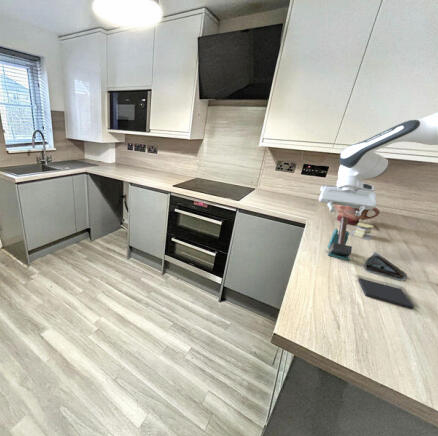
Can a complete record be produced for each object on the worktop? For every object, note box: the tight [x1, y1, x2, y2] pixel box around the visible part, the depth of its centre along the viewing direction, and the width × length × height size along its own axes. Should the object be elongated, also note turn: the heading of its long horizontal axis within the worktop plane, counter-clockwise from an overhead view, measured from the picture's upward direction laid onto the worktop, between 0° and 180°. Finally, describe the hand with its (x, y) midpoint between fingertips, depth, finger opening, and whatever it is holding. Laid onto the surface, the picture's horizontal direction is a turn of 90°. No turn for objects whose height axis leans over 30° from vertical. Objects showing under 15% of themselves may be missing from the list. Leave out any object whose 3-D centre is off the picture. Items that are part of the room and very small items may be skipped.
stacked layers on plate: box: [348, 222, 376, 241], centre depth 121 cm, size 10×9×6 cm
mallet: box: [328, 218, 353, 258], centre depth 100 cm, size 6×14×14 cm, turn 150°
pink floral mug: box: [334, 204, 380, 226], centre depth 137 cm, size 20×12×14 cm, turn 47°
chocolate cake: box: [363, 252, 408, 282], centre depth 90 cm, size 10×7×12 cm
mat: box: [357, 277, 415, 310], centre depth 76 cm, size 11×10×1 cm
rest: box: [327, 228, 350, 261], centre depth 100 cm, size 7×10×9 cm
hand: (344, 213), depth 104 cm, fingers open, 8 cm apart
